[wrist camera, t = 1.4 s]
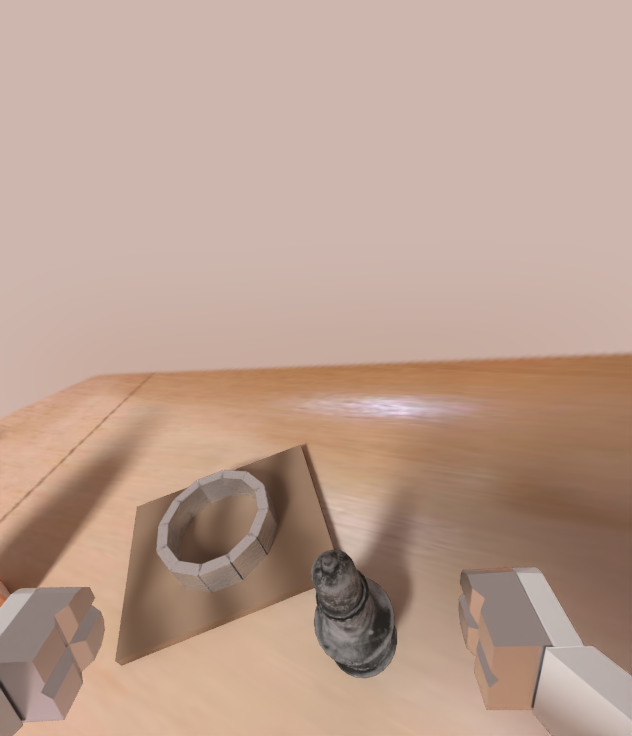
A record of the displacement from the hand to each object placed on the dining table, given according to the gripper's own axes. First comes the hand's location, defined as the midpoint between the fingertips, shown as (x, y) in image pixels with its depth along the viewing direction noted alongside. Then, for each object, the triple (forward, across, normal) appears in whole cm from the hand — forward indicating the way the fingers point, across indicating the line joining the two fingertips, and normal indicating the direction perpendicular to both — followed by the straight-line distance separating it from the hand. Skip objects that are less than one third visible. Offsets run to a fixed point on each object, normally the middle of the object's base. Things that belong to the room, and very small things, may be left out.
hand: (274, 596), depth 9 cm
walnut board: (+25, +11, +23) cm, 36 cm away
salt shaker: (+15, -2, +24) cm, 28 cm away
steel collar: (+25, +11, +23) cm, 36 cm away
